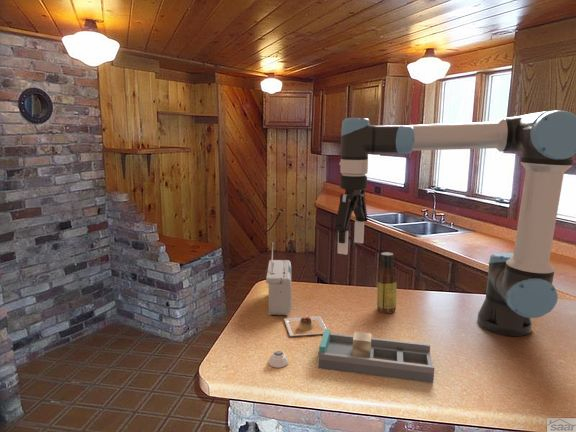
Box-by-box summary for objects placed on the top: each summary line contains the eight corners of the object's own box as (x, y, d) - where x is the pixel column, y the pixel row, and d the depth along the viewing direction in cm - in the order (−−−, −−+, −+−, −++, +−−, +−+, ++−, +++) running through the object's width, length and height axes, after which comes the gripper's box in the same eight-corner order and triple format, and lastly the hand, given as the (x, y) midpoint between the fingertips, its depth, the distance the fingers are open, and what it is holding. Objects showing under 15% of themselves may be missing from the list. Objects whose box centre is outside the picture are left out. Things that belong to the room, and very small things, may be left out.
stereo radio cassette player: (291, 317, 140) (291, 258, 136) (265, 317, 140) (265, 257, 136) (291, 293, 160) (291, 241, 156) (269, 293, 160) (269, 241, 156)
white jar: (277, 356, 116) (264, 364, 112) (277, 346, 115) (264, 353, 111) (291, 363, 112) (279, 371, 109) (291, 352, 112) (279, 360, 108)
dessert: (329, 336, 128) (330, 321, 127) (289, 339, 126) (289, 324, 125) (320, 319, 139) (320, 305, 139) (283, 321, 138) (283, 307, 137)
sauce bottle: (398, 309, 146) (401, 252, 142) (392, 315, 141) (395, 257, 137) (379, 305, 150) (382, 249, 146) (373, 311, 144) (375, 254, 141)
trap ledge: (428, 357, 115) (430, 338, 114) (433, 382, 104) (434, 362, 103) (325, 345, 121) (325, 327, 120) (318, 368, 110) (318, 348, 109)
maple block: (370, 349, 114) (371, 333, 114) (370, 357, 110) (370, 341, 109) (353, 347, 115) (354, 331, 115) (352, 355, 111) (353, 339, 110)
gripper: (355, 170, 133) (353, 237, 137) (323, 178, 111) (321, 257, 115) (379, 171, 129) (376, 240, 133) (351, 179, 108) (348, 261, 112)
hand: (351, 248), depth 124 cm, fingers open, 13 cm apart
